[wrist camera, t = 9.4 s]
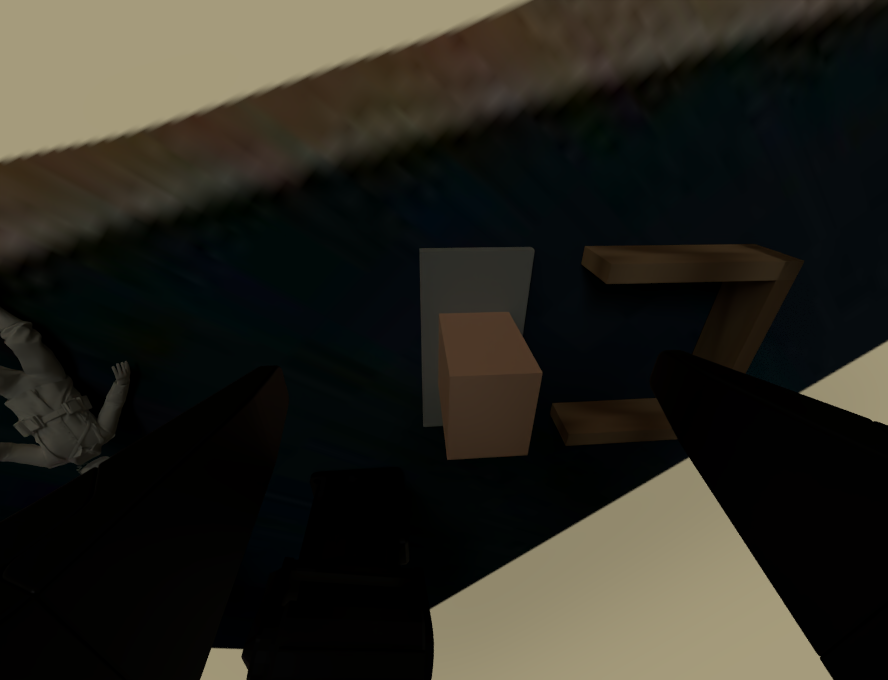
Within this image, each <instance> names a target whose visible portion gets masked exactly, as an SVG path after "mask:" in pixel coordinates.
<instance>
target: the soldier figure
mask: <svg viewBox="0 0 888 680" xmlns="http://www.w3.org/2000/svg"><path fill="white" fill-rule="evenodd" d="M0 332H1V334H0V336H1V338H3V339H5V344H6V345H7V346H8V347H9V348H11V349H12V350H13V352H14V354H15V355H16V356H17V357H18V359H19V361H20V363H21V365H22V368H23V370H24V372H25V373H24V372H23V371H22V370H13V369H9V368H6V367H3V366H0V395H2V396H4V397H5V398H7V399H8V400H7V401H6V402H5V405H6V406H7V407H8V408H10V409H11V410H12V411H13V412H14V413H15V414H16V415H17V416H18V418H19V420H20V421H18V422H17V423H16V424H14V425H13V426H14V427H15V428H16V429H17V430H18V431H19V432H20V433H21V434H22V435H23V436H24V437H26V436H29V435H30V434H32V435H33V436H34V437H35V440H36V443H39V444H40V446H37V445H35V444H15V443H3V442H0V461H10V462H17V463H24V464H31V465H35V466H41V467H48V468H49V469H50V468H53V467H56V466H58V465H64V464H66V463H69V462H72V463H75V464H77V465H79V464H82V465H83V463H85V462H86V461H88V460H90V459H92V458H94V457H96V456H98V455H100V454H101V446H102V445H103V444H105V443H107V442H108V441H109V440H110V439H112V438H113V437H114V436H115V432H116V429H117V424H118V422H119V420H118V419H119V417H120V415H121V411H122V407H123V405H124V403H125V401H126V396H127V393H128V389H129V383H130V377H129V376H130V373H131V372H130V367H129V364H128V362H127V361H125V363H123V362H121V366H122V369H123V372H122V370H121V367H120V365H119V363H117V364H116V365H117V369H118V372H117V371H116V368H115V367H114V366H113V367H112V369H113V372H114V374H115V377H116V381H115V382H114V383H113V386H112V388H111V390H110V392H109V393H108V395H107V397H106V400H105V403H104V406H103V407H102V409H101V411H100V413H99V415H98V418H96V417H95V416H94V415H93V414H92V413H91V412H90V411H89V409H91V408H92V406H91V404H90V402H89V399H88V397H87V395H86V396H81V394H80V392H78V390H77V389H76V388H74V387H73V381H72V379H71V377H69V376H68V375H66V374H65V371H64V369H63V367H62V365H61V364H60V362H59V361H58V360H57V358H56V357H55V355H54V353H53V352H52V350H51V349H50V348H48V347H47V346H46V345H45V344H43V343H42V342H41V338H42V336H41V334H40V333H39V332H37V331H36V330H35V329H33V328H32V323H31V322H27V321H22V320H21V319H19V318H17V317H15V316H14V315H12V314H11V313H9V312H7V311H6V310H4V309H3V308H2V307H0ZM108 458H109V457H107V456H104V457H100V458H98V459H96V460H94V461H92V462H90V463H86V464H88V465H86V466H85V467H84V468H83V469H82V470H81V472H78V473H80V474H81V475H82V474H83V473H85V472H86V471H88V470H90V469H91V468H93V467H97V468H98V465H99V464H100V463H101V462H103V461H105V460H106V459H108ZM80 466H81V465H80ZM77 467H78V466H77ZM80 468H82V467H80ZM80 468H79V469H80ZM79 469H77V471H78V470H79Z"/></svg>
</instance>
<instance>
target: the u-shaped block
mask: <svg viewBox="0 0 888 680" xmlns="http://www.w3.org/2000/svg"><path fill="white" fill-rule="evenodd" d="M803 263H804V261H803V260H800V259H797V258H794V257H791V256H788V255H786V254H783V253H780V252H777V251H774V250H771V249H768V248H765V247H762V246H759V245H756V244H726V245H647V246H585V249H584V254H583V258H582V263H581V264H582V265H583V266H584V267H586V268H587V269H588V270H589V271H591V272H592V273H593V274H595V275H596V276H597V277H598V278H600V279H601V280H602V281H603V282H605V283H606V284H632V283H678V282H722V285H721V287H720V290H719V292H718V294H717V297H716V299H715V301H714V304H713V306H712V309H711V311H710V313H709V316H708V318H707V320H706V323H705V325H704V328H703V330H702V332H701V335H700V337H699V339H698V342H697V344H696V347H695V349H694V351H693V354H692V355H695V356H698V357H701V358H703V359H706V360H709V361H712V362H714V363H717V364H720V365H723V366H725V367H728V368H731V369H734V370H736V371H739V372H742V373H746V371H747V369H748V368H749V366H750V364H751V362H752V360H753V358H754V356H755V354H756V352H757V350H758V348H759V347H760V345H761V343H762V341H763V339H764V337H765V335H766V333H767V331H768V329H769V327H770V326H771V324H772V322H773V320H774V318H775V316H776V314H777V312H778V310H779V308H780V307H781V305H782V303H783V301H784V299H785V297H786V295H787V293H788V291H789V289H790V287H791V286H792V284H793V282H794V280H795V278H796V276H797V274H798V272H799V270H800V268H801V266H802V265H803ZM550 415H551V417H552V419H553V421H554V423H555V425H556V427H557V429H558V431H559V433H560V435H561V437H562V439H563V441H564V443H565V445H566V446H572V445H589V444H606V443H622V442H639V441H656V440H672V439H677V437H676V435H675V433H674V431H673V430H672V428H671V426H670V424H669V422H668V420H667V418H666V416H665V414H664V412H663V410H662V408H661V406H660V404H659V402H658V401H657V399H656V398H646V399H626V400H606V401H586V402H565V403H552V407H551V411H550Z"/></svg>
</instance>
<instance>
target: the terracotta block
mask: <svg viewBox="0 0 888 680" xmlns="http://www.w3.org/2000/svg"><path fill="white" fill-rule="evenodd" d="M542 374H543V373H542V371H541V369H540V367H539V365H538V364H537V362H536V360H535V358H534V356H533V355H532V353H531V351H530V349H529V347H528V346H527V344H526V342H525V340H524V338H523V337H522V335H521V333H520V331H519V329H518V327H517V326H516V324H515V322H514V320H513V318H512V317H511V315H510V313H509V312H481V313H441V314H439V352H438V388H439V396H440V404H441V412H442V420H443V428H444V436H445V444H446V452H447V460H453V459H469V458H486V457H503V456H520V455H527V454H528V449H529V444H530V438H531V433H532V427H533V422H534V417H535V411H536V406H537V400H538V395H539V390H540V384H541V379H542Z"/></svg>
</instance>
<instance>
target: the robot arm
mask: <svg viewBox="0 0 888 680" xmlns="http://www.w3.org/2000/svg"><path fill="white" fill-rule="evenodd" d="M650 386H651V389H652V391H653V393H654V395H655V397H656V399H657V401H658V402H659V404H660V406H661V408H662V410H663V412H664V414H665V416H666V418H667V420H668V422H669V424H670V426H671V428H672V430H673V431H674V433H675V435H676V437H677V439H678V440H679V442H680V444H681V445H682V447H683V449H684V450H685V452H686V453H687V455H688V456H689V458H690V459H691V461H692V462H693V464H694V466H695V467H696V469H697V470H698V471H699V473H700V475H701V476H702V478H703V479H704V481H705V482H706V484H707V485H708V487H709V489H710V490H711V492H712V493H713V495H714V496H715V498H716V499H717V501H718V502H719V504H720V505H721V507H722V508H723V510H724V512H725V513H726V515H727V516H728V518H729V519H730V521H731V522H732V524H733V525H734V527H735V528H736V530H737V532H738V533H739V535H740V536H741V537H742V539H743V541H744V542H745V544H746V545H747V547H748V548H749V550H750V552H751V553H752V555H753V556H754V557H755V559H756V561H757V562H758V564H759V565H760V567H761V568H762V570H763V572H764V573H765V575H766V576H767V578H768V579H769V581H770V582H771V584H772V585H773V587H774V588H775V590H776V591H777V593H778V595H779V596H780V598H781V599H782V601H783V602H784V604H785V605H786V607H787V608H788V610H789V611H790V613H791V615H792V616H793V618H794V619H795V621H796V622H797V624H798V625H799V627H800V628H801V630H802V631H803V633H804V635H805V636H806V638H807V639H808V641H809V642H810V644H811V645H812V647H813V648H814V650H815V651H816V653H817V654H818V655H819V656H821V657H820V660H821V661H822V663H823V664H824V666H825V667H826V669H827V670H828V672H829V673H830V675H831V677H832V678H833V680H888V425H885V424H882V423H880V422H876V421H874V422H873V421H872V420H870V419H868V418H866V417H863V416H860V415H857V414H855V413H852V412H849V411H846V410H844V409H841V408H838V407H835V406H833V405H830V404H827V403H824V402H822V401H819V400H816V399H813V398H811V397H808V396H805V395H802V394H800V393H797V392H794V391H791V390H789V389H786V388H783V387H780V386H778V385H775V384H772V383H769V382H767V381H764V380H761V379H758V378H756V377H753V376H750V375H747V374H745V373H742V372H739V371H736V370H734V369H731V368H728V367H725V366H723V365H720V364H717V363H714V362H712V361H709V360H706V359H703V358H701V357H698V356H695V355H692V354H690V353H687V352H684V351H681V350H665V351H662V352H661V353H660V354H659V355H658V358H657V360H656V363H655V366H654V368H653V371H652V374H651V377H650ZM288 404H289V395H288V391H287V387H286V383H285V379H284V375H283V372H282V369H281V368H280V367H279V366H260V367H258V368H256V369H255V370H253V371H251V372H250V373H248V374H246V375H245V376H243V377H242V378H240V379H238V380H237V381H235V382H233V383H232V384H230V385H228V386H227V387H225V388H223V389H222V390H220V391H218V392H217V393H215V394H214V395H212V396H210V397H209V398H207V399H205V400H204V401H202V402H200V403H199V404H197V405H195V406H194V407H192V408H190V409H189V410H187V411H186V412H184V413H182V414H181V415H179V416H177V417H176V418H174V419H172V420H171V421H169V422H167V423H166V424H164V425H162V426H161V427H159V428H158V429H156V430H154V431H153V432H151V433H149V434H148V435H146V436H144V437H143V438H141V439H139V440H138V441H136V442H134V443H133V444H131V445H130V446H128V447H126V448H125V449H123V450H121V451H120V452H118V453H116V454H115V455H113V456H111V457H110V458H108V459H106V460H105V461H103V462H101V463H100V464H99V465H98V468H97V467H93V468H91V469H90V470H88V471H86V472H85V473H83V474H82V475H80V476H78V477H77V478H75V479H73V480H72V481H70V482H68V483H67V484H65V485H63V486H62V487H60V488H58V489H57V490H55V491H53V492H52V493H50V494H48V495H46V496H45V497H43V498H41V499H40V500H38V501H36V502H35V503H33V504H31V505H29V506H28V507H26V508H24V509H22V510H21V511H19V512H17V513H15V514H13V515H12V516H10V517H8V518H6V519H4V520H3V521H1V522H0V680H200V678H201V676H202V672H203V670H204V667H205V664H206V661H207V658H208V655H209V653H210V650H211V647H212V644H213V641H214V638H215V636H216V633H217V630H218V627H219V624H220V621H221V618H222V616H223V613H224V610H225V607H226V604H227V601H228V598H229V596H230V593H231V590H232V587H233V584H234V581H235V578H236V576H237V573H238V570H239V567H240V564H241V561H242V558H243V556H244V553H245V550H246V547H247V544H248V541H249V538H250V536H251V533H252V530H253V527H254V524H255V521H256V518H257V516H258V513H259V510H260V507H261V504H262V501H263V498H264V496H265V493H266V490H267V487H268V484H269V481H270V479H271V476H272V473H273V469H274V466H275V463H276V459H277V455H278V450H279V446H280V441H281V437H282V432H283V428H284V423H285V418H286V414H287V409H288ZM310 483H311V487H312V491H313V495H314V500H313V504H312V508H311V512H310V516H309V520H308V524H307V528H306V532H305V536H304V540H303V544H302V548H301V552H300V556H299V560H294V558H290V557H285V559H284V562H283V566H282V569H281V568H280V569H279V570H277V571H275V572H272V573H270V575H269V578H268V582H267V585H266V588H265V592H264V595H263V598H262V601H261V604H260V607H259V609H258V612H257V615H256V617H255V620H254V622H253V625H252V627H251V630H250V632H249V635H248V638H247V640H246V643H245V646H244V649H243V653H242V659H243V661H244V663H245V665H246V667H247V669H248V674H247V680H431V678H432V669H433V659H434V639H433V628H432V621H431V615H430V609H429V603H428V597H427V591H426V585H425V579H424V573H423V568H417V567H414V569H409V568H401V565H403V564H407V563H408V562H409V503H408V492H407V491H406V490H402V483H401V471H400V469H398V468H394V467H393V468H377V469H361V470H345V471H329V472H316V473H313V474H312V475H311V479H310Z"/></svg>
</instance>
